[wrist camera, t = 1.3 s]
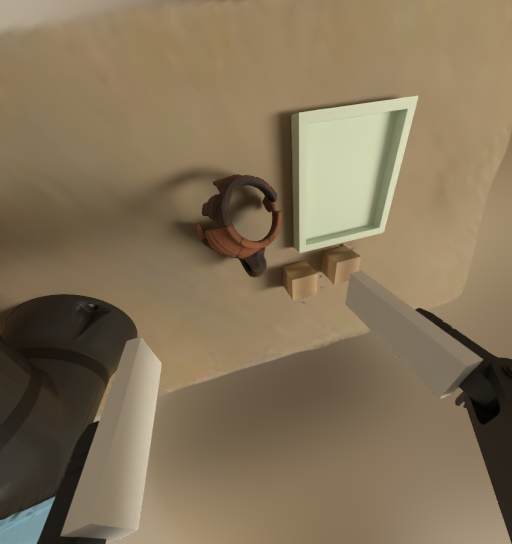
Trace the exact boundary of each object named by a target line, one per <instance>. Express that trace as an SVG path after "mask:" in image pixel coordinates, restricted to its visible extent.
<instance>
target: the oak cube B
mask: <svg viewBox="0 0 512 544" xmlns="http://www.w3.org/2000/svg"><path fill="white" fill-rule="evenodd" d="M360 260H361V256H360V255H358V254H357V253H355V252H354V251H352V250H350V249H349V248H347V247H346V246H342V247H338V248H334V249H330V250H326V251H323V255H322V269H321V272H322V273H323V274H324V275H325V276H326V277H327V278H328V279H329V280H330V281H331V282H332V283H333V284H337V283H341V282H344V281H348V280H349V278H350V273H353V272H357V271H358V270H359V265H360Z"/></svg>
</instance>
